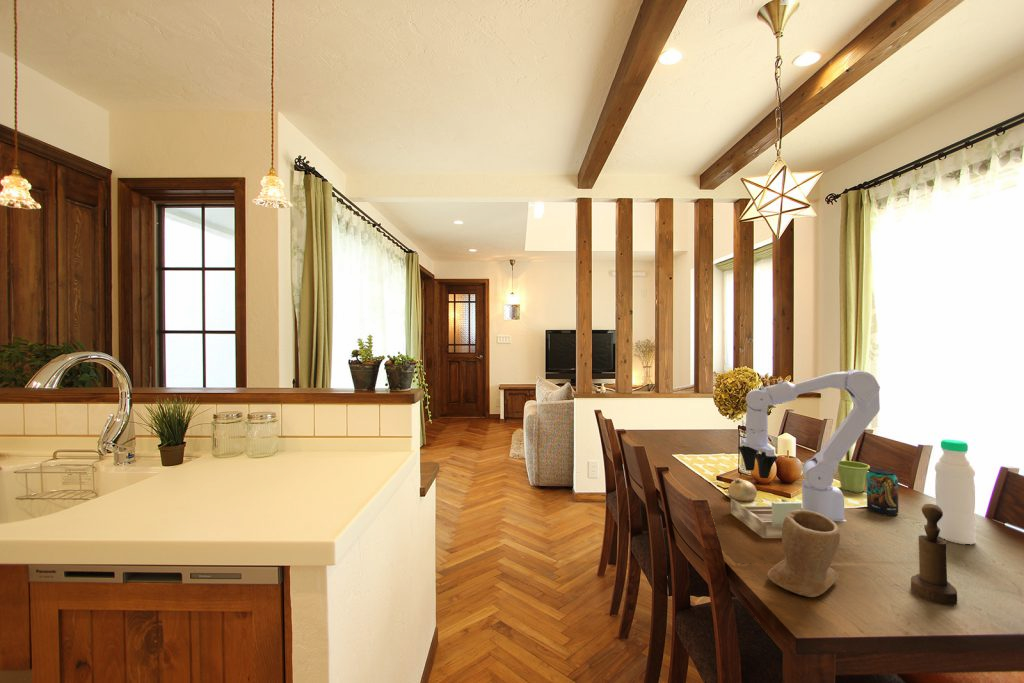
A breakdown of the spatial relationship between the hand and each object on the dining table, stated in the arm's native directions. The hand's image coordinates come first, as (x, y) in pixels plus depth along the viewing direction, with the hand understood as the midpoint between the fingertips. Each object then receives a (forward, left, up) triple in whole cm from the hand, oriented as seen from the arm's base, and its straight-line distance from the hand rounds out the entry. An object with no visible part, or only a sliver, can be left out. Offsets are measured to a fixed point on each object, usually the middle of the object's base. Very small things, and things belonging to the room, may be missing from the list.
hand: (756, 473), depth 130 cm
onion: (+1, -7, -11) cm, 13 cm away
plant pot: (-41, -16, -11) cm, 45 cm away
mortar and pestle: (-9, +45, -11) cm, 47 cm away
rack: (+3, +13, -10) cm, 17 cm away
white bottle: (-38, +21, -11) cm, 45 cm away
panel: (+3, +19, -10) cm, 21 cm away
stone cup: (+13, +41, -11) cm, 44 cm away
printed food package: (-35, +3, -11) cm, 37 cm away
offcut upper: (+3, +13, -9) cm, 16 cm away
